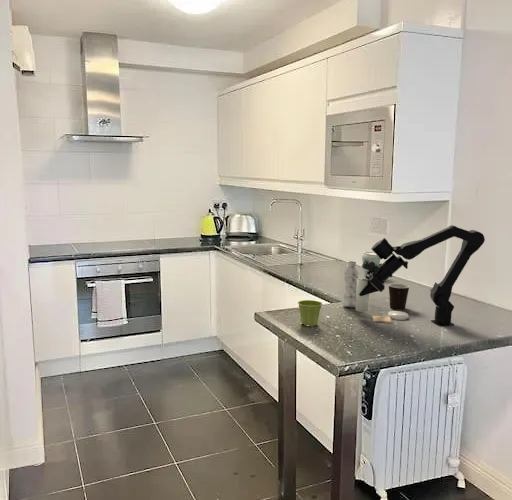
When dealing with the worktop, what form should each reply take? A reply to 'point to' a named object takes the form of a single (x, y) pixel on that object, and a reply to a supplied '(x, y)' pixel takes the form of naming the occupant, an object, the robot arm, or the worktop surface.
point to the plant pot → (309, 312)
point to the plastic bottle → (350, 285)
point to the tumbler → (361, 301)
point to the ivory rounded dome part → (398, 315)
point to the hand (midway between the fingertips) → (359, 293)
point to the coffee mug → (398, 296)
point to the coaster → (382, 319)
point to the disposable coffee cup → (370, 259)
